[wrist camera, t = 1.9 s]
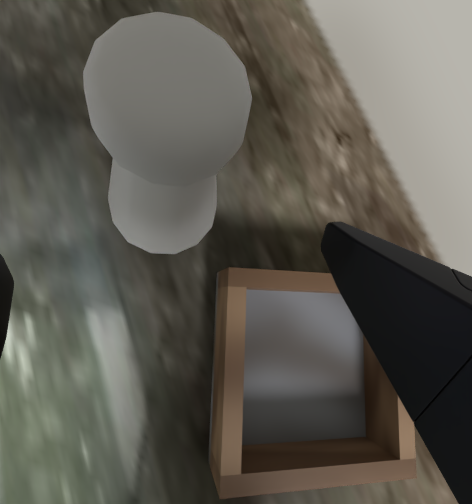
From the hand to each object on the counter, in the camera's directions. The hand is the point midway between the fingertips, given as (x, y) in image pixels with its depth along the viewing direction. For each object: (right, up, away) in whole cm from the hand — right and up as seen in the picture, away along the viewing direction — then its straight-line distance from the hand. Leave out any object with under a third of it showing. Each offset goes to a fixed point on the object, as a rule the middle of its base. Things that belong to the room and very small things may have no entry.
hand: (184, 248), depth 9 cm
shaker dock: (+5, -7, +11) cm, 15 cm away
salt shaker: (-3, +2, +11) cm, 12 cm away
